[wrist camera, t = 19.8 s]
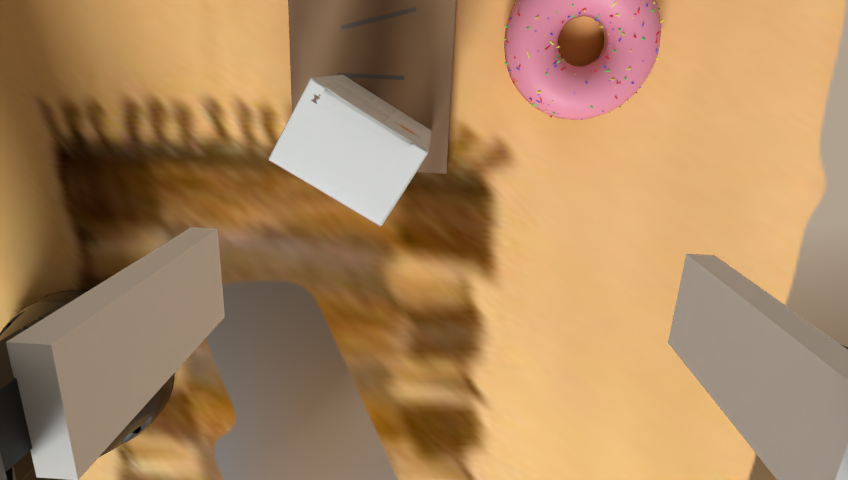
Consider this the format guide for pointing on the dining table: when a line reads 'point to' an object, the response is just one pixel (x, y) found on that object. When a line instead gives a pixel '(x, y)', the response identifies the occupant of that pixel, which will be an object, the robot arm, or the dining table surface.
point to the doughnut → (591, 84)
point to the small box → (352, 146)
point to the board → (381, 56)
